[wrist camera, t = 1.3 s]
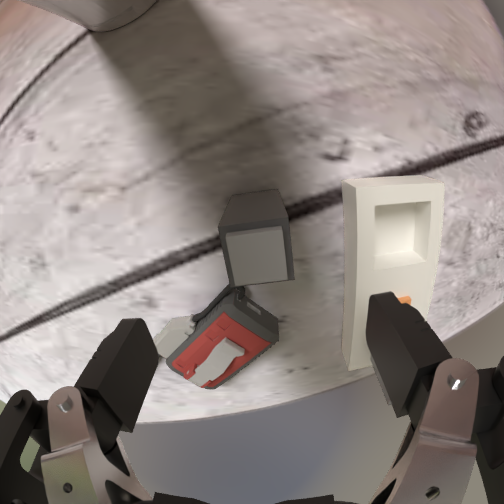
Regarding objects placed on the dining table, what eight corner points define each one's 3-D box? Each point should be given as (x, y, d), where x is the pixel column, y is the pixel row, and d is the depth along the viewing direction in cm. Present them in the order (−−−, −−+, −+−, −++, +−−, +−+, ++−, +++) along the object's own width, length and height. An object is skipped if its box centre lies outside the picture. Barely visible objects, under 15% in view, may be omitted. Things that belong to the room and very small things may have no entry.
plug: (232, 195, 21) (215, 230, 13) (277, 188, 21) (289, 220, 13) (239, 237, 23) (229, 292, 15) (283, 231, 22) (295, 285, 14)
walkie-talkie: (219, 259, 24) (130, 365, 30) (211, 285, 20) (118, 389, 26) (291, 313, 26) (185, 397, 32) (296, 343, 22) (179, 423, 28)
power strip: (341, 179, 20) (401, 214, 11) (422, 175, 20) (501, 205, 10) (341, 348, 27) (364, 423, 18) (404, 334, 27) (440, 398, 17)
